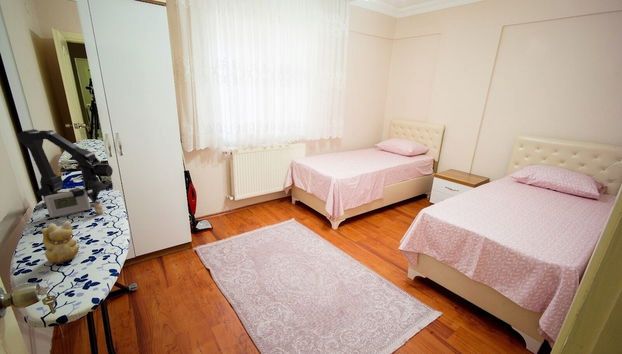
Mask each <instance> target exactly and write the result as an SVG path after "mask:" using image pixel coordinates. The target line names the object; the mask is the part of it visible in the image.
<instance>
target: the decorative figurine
mask: <svg viewBox="0 0 622 354" xmlns="http://www.w3.org/2000/svg"><path fill="white" fill-rule="evenodd" d="M63 223H64V224H63V225H62V226H58V227H57V226H56V225H55V224H53V223H50V224H48V226H47V227H43V228H42V229H41V233H42V242H43V247H45V251H44V255H45V256H44V257H45V258H46V259H47V261H48V262H49V263H52V265H55V264H60V263H61V264H62V263H65V262H70V261H71V259H73V258H74V257H76V256H77V254H78V252H79V249H80V246H79V244H78V243H77V242H78V241H77V239H75V238H72V235H73V229H71V226H72V223H71V222H70V221H65V222H63Z"/></svg>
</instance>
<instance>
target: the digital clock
mask: <svg viewBox="0 0 622 354" xmlns="http://www.w3.org/2000/svg"><path fill="white" fill-rule="evenodd" d="M82 189H83V188H82ZM83 190H84V193H85V194H84V195H82V196H79V197H74V195H73V193H72V192H71V191H69V190H68V191H65V192H60V193H58V192H57V193H58V194H54V195H49V196H45V202H46V206H45V207H46V209H47V212H48V215H49V217H50V218H51V219H54V218H58V217H59V218H61V217H65V216H69V215H74V214H79V213H82V212H83V211H84V212H85V211H89V210H90V209H91V204H90V200H89V197H88V196H87V192H86V190H85V189H83ZM45 202H44V203H45Z"/></svg>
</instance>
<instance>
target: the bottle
mask: <svg viewBox="0 0 622 354" xmlns="http://www.w3.org/2000/svg"><path fill="white" fill-rule="evenodd" d="M93 207H94V210H95V215H96V216H101V215H104V210H103V205H102V202H101V200H96V201H95V203H93Z"/></svg>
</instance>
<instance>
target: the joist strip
mask: <svg viewBox="0 0 622 354" xmlns="http://www.w3.org/2000/svg"><path fill="white" fill-rule="evenodd" d="M64 223H65V222H62V221H56V222H53V223H52V224H55V225H56V226H57V227H58V226H62V225H63V224H64ZM75 228H76V227H74V226H72V225H71V229H72V230H73V229H75Z"/></svg>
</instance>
